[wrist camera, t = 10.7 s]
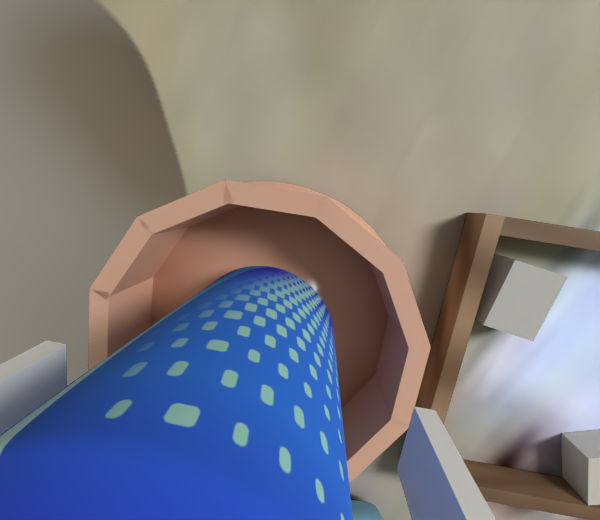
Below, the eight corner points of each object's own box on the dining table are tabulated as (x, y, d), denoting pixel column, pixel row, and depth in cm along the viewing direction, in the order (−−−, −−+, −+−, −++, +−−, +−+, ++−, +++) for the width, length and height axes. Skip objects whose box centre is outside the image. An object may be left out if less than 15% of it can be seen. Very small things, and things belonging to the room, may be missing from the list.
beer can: (360, 328, 18) (630, 1157, 2) (268, 408, 20) (51, 1242, 4) (264, 232, 17) (-276, 488, 2) (176, 323, 19) (-550, 911, 3)
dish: (144, 161, 18) (80, 145, 13) (434, 207, 17) (480, 208, 13) (133, 411, 21) (78, 473, 17) (373, 455, 21) (390, 532, 16)
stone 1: (489, 252, 18) (514, 259, 16) (534, 267, 18) (567, 276, 16) (462, 309, 19) (483, 325, 16) (506, 323, 19) (533, 341, 16)
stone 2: (559, 430, 20) (588, 458, 18) (602, 426, 20) (637, 454, 18) (560, 474, 21) (587, 505, 19) (601, 470, 20) (635, 501, 18)
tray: (467, 212, 17) (486, 213, 15) (773, 261, 17) (833, 268, 15) (400, 460, 21) (409, 486, 19) (652, 506, 21) (687, 537, 19)
